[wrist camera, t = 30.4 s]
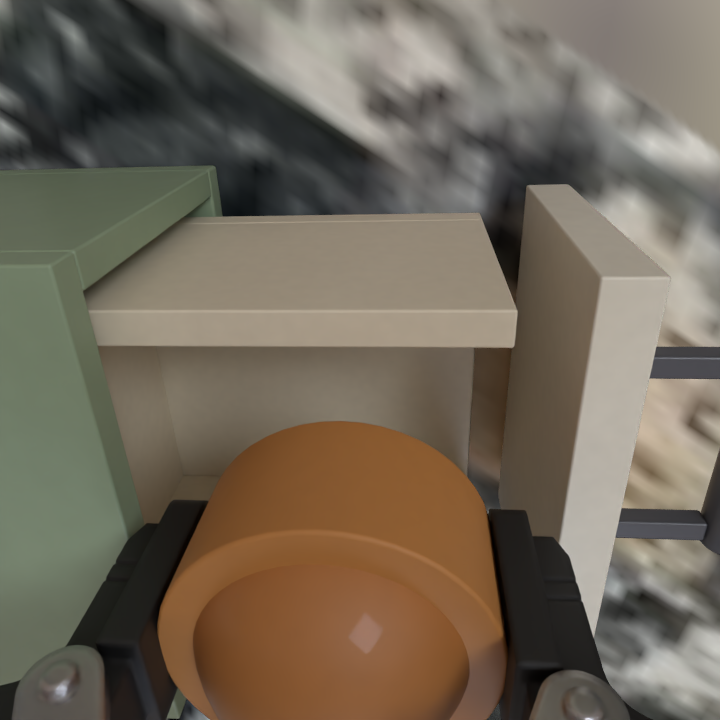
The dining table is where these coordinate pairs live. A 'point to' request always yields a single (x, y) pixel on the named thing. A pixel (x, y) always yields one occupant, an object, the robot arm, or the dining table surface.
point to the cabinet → (68, 390)
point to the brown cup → (338, 585)
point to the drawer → (402, 355)
